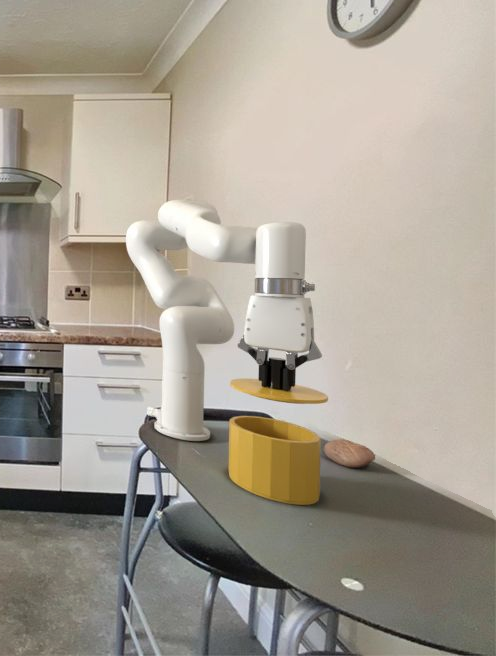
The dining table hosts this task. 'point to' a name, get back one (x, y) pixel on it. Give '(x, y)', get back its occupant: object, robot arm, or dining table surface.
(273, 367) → the lid
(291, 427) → the tin
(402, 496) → the dining table surface
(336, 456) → the bread roll
